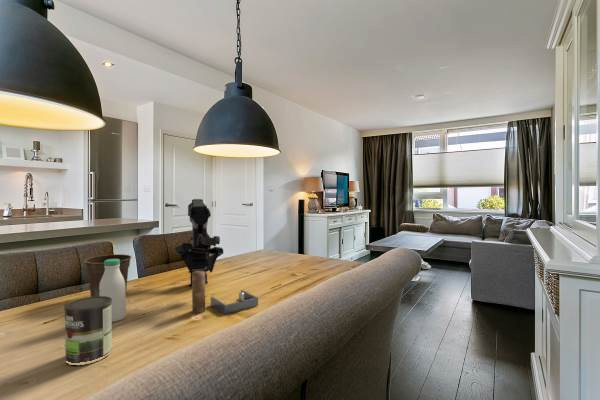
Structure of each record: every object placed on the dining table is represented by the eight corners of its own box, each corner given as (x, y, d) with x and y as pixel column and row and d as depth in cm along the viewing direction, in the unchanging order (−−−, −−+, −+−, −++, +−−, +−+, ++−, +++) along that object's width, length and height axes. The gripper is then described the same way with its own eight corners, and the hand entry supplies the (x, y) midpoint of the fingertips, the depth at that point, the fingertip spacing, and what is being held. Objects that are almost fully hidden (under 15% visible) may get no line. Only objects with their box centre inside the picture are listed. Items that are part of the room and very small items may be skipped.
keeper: (210, 305, 119) (210, 289, 118) (242, 297, 127) (242, 282, 127) (225, 314, 109) (225, 297, 109) (258, 305, 118) (258, 290, 118)
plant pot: (138, 297, 128) (137, 257, 127) (91, 308, 116) (90, 264, 115) (124, 289, 139) (123, 252, 138) (80, 298, 127) (79, 258, 126)
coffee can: (83, 370, 75) (82, 311, 75) (55, 361, 79) (54, 306, 79) (121, 350, 85) (121, 298, 85) (95, 343, 89) (94, 294, 88)
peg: (189, 312, 111) (189, 273, 111) (196, 308, 115) (196, 270, 115) (201, 313, 110) (201, 274, 110) (207, 309, 115) (207, 271, 114)
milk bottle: (131, 315, 108) (130, 258, 108) (111, 324, 101) (110, 263, 101) (114, 313, 111) (113, 256, 110) (93, 321, 104) (92, 261, 103)
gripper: (190, 223, 118) (191, 264, 111) (230, 230, 132) (233, 267, 125) (174, 233, 124) (174, 272, 117) (214, 239, 138) (216, 274, 131)
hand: (201, 271), depth 123 cm, fingers open, 9 cm apart
